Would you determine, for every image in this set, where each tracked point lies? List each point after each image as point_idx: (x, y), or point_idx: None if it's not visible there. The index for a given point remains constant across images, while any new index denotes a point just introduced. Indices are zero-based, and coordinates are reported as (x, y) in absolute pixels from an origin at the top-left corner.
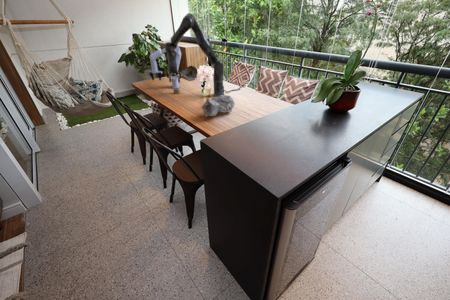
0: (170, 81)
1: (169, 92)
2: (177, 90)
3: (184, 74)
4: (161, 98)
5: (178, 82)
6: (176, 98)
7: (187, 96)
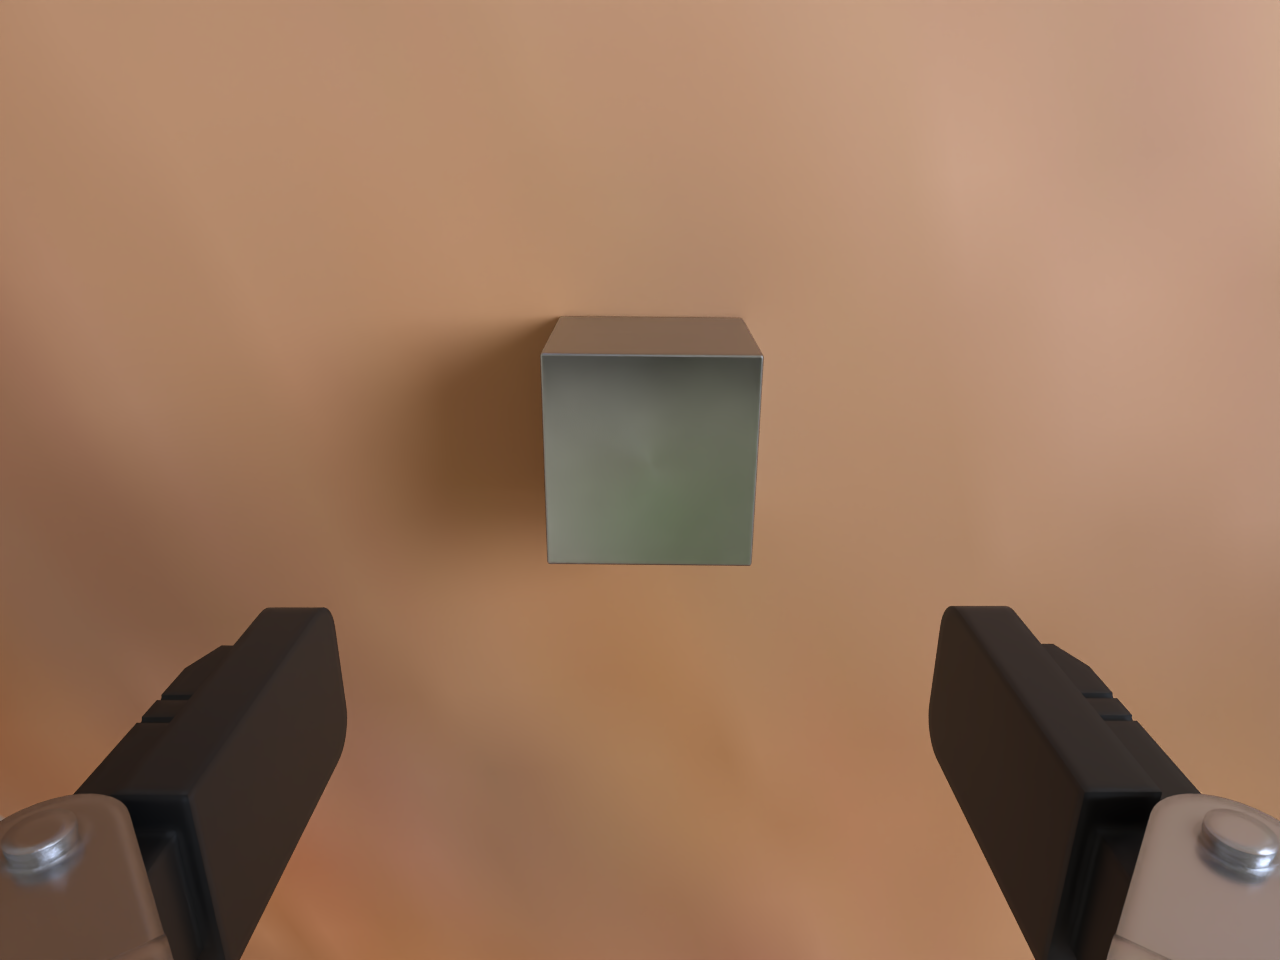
0: (313, 784)
1: (321, 359)
2: (747, 558)
3: None
4: (343, 918)
5: (947, 748)
6: (798, 883)
7: (1135, 703)
